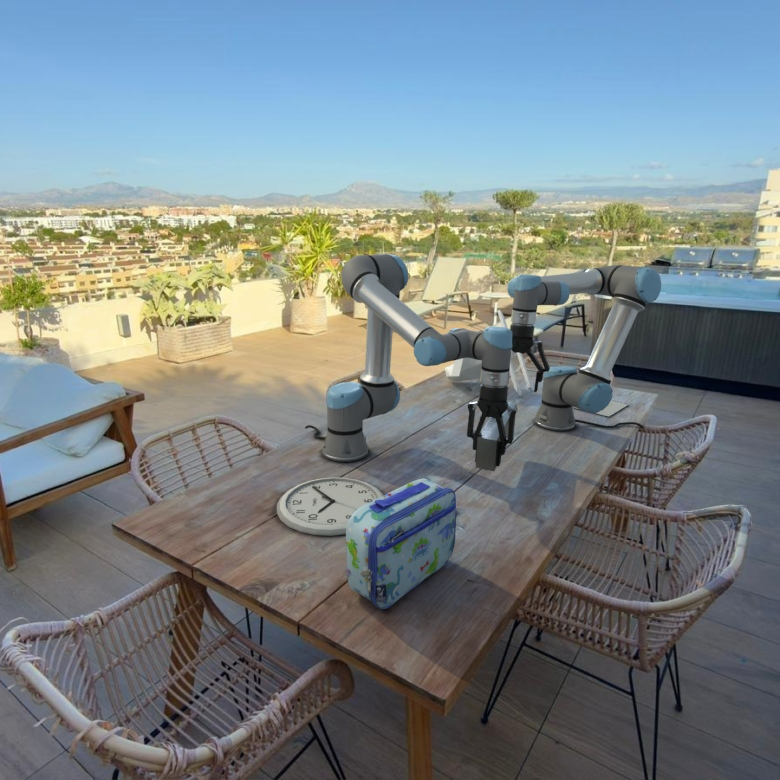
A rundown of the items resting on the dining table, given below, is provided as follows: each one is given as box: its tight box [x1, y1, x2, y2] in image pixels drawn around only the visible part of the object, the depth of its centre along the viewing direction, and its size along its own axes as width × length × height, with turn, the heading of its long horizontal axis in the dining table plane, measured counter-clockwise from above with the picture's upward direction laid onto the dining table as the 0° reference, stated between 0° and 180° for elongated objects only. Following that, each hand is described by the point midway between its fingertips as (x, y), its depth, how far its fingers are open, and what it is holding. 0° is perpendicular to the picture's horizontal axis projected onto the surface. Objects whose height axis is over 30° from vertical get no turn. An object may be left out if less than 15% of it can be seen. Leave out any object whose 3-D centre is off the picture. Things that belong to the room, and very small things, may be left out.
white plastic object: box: [444, 309, 535, 397], centre depth 249 cm, size 37×45×31 cm
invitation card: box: [573, 400, 629, 418], centre depth 226 cm, size 21×1×15 cm
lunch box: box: [345, 477, 457, 610], centre depth 110 cm, size 26×11×21 cm, turn 134°
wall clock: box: [276, 476, 385, 537], centre depth 142 cm, size 30×2×30 cm
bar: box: [474, 401, 518, 472], centre depth 159 cm, size 34×5×9 cm, turn 158°
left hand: (487, 462), depth 149 cm, fingers closed on bar, 5 cm apart
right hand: (514, 388), depth 173 cm, fingers open, 13 cm apart
